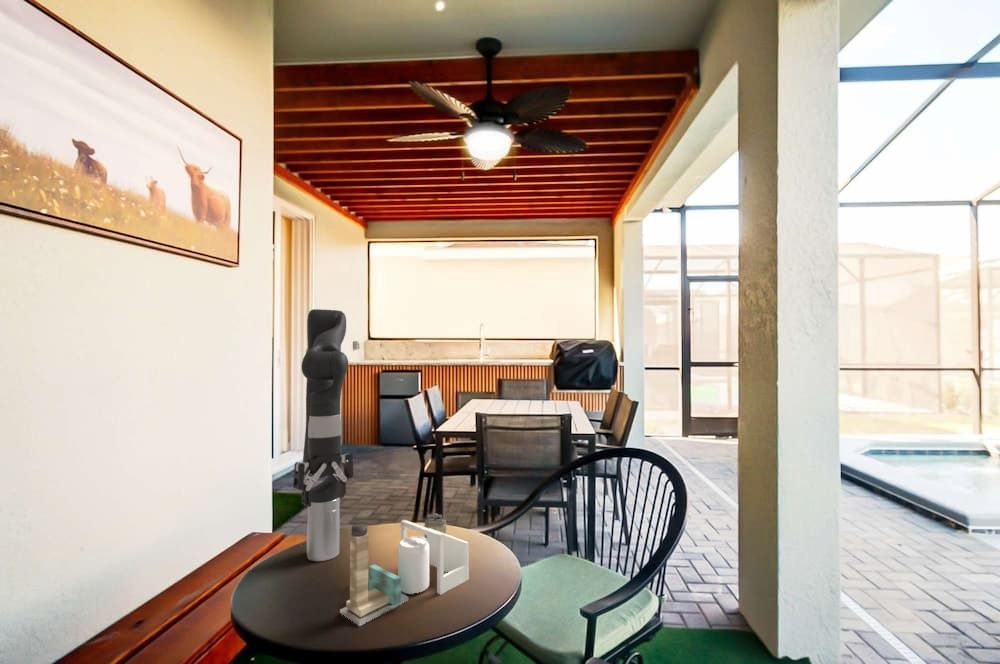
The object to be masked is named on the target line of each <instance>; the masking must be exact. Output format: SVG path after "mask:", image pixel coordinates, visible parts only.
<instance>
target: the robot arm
mask: <svg viewBox="0 0 1000 664" xmlns="http://www.w3.org/2000/svg"><path fill="white" fill-rule="evenodd" d="M306 323H307V324H306V333H307V337H306V338H307V351H306V353H305V355H304V357H303V359H302V360H301V361H302V362H301V373H302V375H303V376H304V377H305V378H306V389H305V390H306V392H305V432H304V433H305V434H304V435H305V436H304V445H303V452H302V453H303V455H302V462H299V461H296V462H295V463H294V467H293V481H292V482H293V483H292V486H293V487H292V488H293V489H295V490H296V489H297V490H298V491H301V504H302V505H303V506H304V507H306V508H307V523H306V558H307V559H308V560H309V561H312V562H325V561H328V560H329V561H330V560H332V559H335V558H336V557H338V556H339V554H340V514H341V513H340V508H341V507H340V505H341V504H340V503H341V502H340V500H341V499H343V498H344V497H345V496H346V493H347V488H346V487H347V481H348V480H349V479H352V478H353V477H354V462H353V461H354V460H353V456H354V455H353V454H352V453H349V452H348V453H346V452H344V453H343V454H342V420H341V419H342V418H341V398H342V397H341V396H342V390H343V385H344V382H345V378H346V376H347V372H348V370H349V358H348V356H347V354H345V353H344V352H343V351H342V350H341V349H342V348H341V347H342V343H343V342H344V340H345V336H346V334H347V333H346V332H347V317H346V314H345V313H344V312H343V311H341V310H336V309H317V308H313V309H311V310H309V311H308V315H307V322H306ZM342 463H343V465H342ZM342 467H343V470H342ZM325 477H326V478H325ZM319 478H320V479H323V478H325V479H324V480H323V481H322V482H320V483H318V484H317V485H315V486H313V485H314V484H315V483H317V482H318V480H319Z"/></svg>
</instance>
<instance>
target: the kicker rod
mask: <svg viewBox="0 0 1000 664" xmlns="http://www.w3.org/2000/svg"><path fill="white" fill-rule="evenodd" d="M349 539H350V540H349V542H350V545H349V547H350V549H349V599H348V600H346V602H345V603H346V606H345V607H346V608H347V609H349V610H350V611H352V612H354V613H355V614H357V615H358V616H360V617H362V616H364V615H366V614H368V613H370V612H372V611H374V610H376V609H378V608H380V607H382V606H384V605H386V604H388V603H391V604H393V605H395V606H397V605H399V604H401V593H402V592H401V577H399V576H398V574H397V575H396V574H394V573H393V572H390V571H389V570H387V569H384V568H383V567H381V566H379V565H377V564H374V563H373V564H371V565H369V532H368V525H367V524H366V523H358V524H354V525H352V526H351V533H350V534H349ZM401 605H402V604H401Z"/></svg>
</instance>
